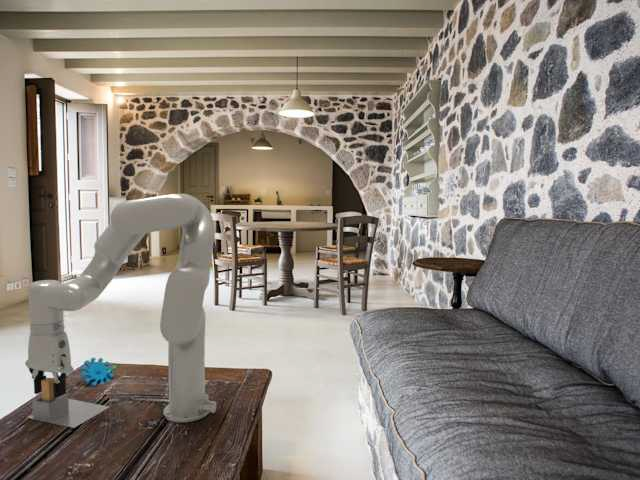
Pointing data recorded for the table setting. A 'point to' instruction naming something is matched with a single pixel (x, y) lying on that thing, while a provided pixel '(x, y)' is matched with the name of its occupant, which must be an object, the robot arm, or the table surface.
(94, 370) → the blue spiky virus toy
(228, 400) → the table surface
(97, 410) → the grey square socket base
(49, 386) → the tan square peg
